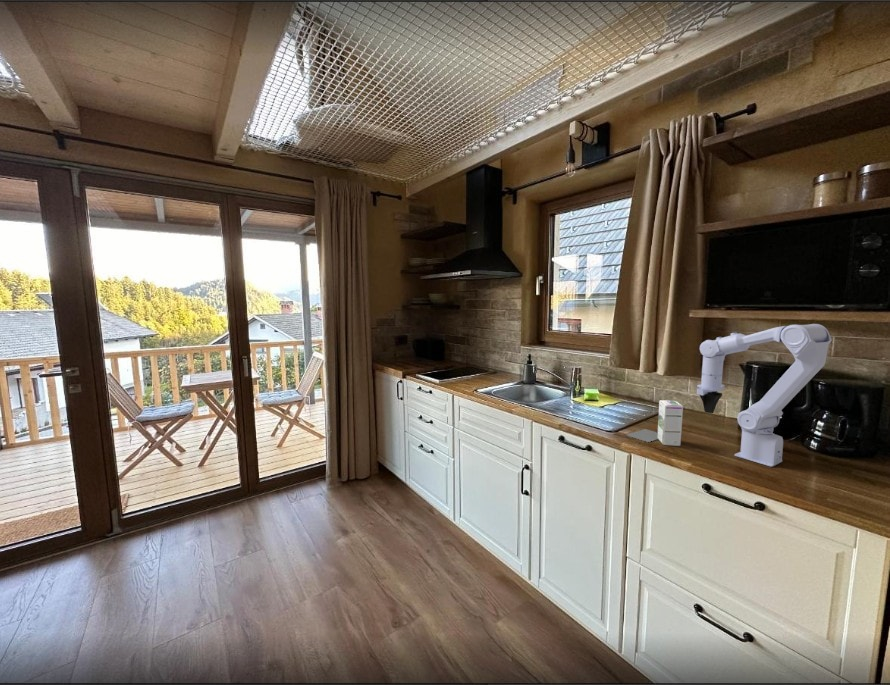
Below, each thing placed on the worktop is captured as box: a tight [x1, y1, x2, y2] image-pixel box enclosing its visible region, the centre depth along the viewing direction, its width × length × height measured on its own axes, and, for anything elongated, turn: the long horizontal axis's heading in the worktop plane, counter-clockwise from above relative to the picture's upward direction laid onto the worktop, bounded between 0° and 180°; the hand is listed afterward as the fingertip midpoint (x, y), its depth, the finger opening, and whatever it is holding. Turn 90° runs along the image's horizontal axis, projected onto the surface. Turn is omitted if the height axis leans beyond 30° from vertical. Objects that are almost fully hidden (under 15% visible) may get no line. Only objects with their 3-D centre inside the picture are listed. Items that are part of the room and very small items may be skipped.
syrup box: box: [657, 399, 684, 447], centre depth 125 cm, size 6×6×14 cm
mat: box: [625, 428, 659, 443], centre depth 133 cm, size 8×12×1 cm
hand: (708, 412), depth 126 cm, fingers closed
